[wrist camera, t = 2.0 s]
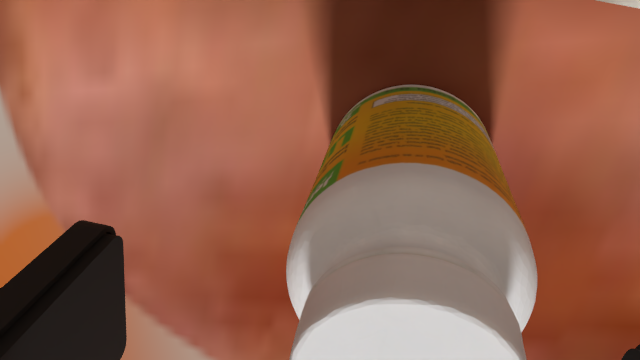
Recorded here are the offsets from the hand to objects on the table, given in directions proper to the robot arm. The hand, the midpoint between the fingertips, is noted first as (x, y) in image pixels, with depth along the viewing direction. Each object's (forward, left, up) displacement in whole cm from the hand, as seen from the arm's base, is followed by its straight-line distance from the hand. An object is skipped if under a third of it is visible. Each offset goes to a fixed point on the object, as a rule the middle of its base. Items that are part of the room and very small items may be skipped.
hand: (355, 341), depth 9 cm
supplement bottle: (-1, 0, -9) cm, 9 cm away
